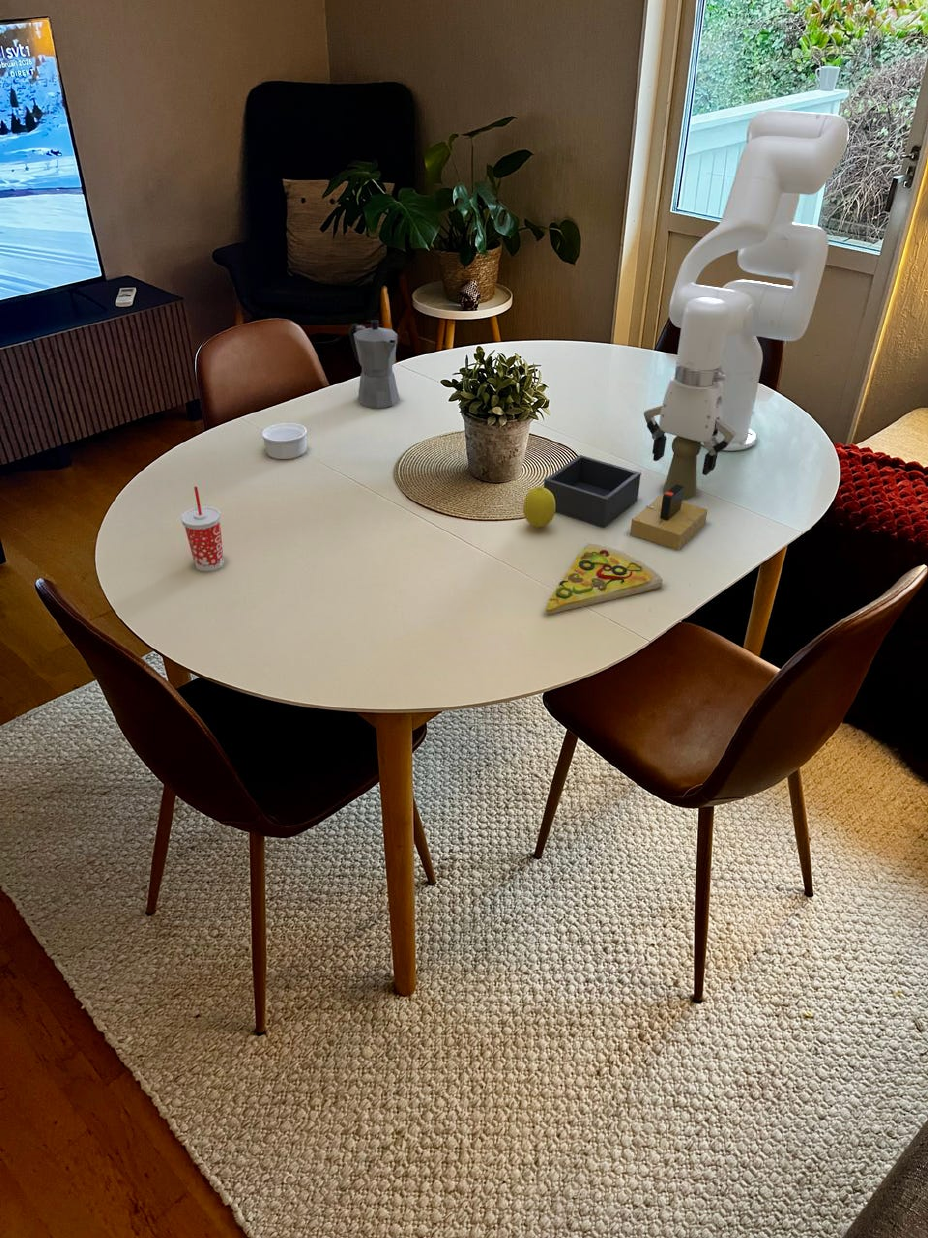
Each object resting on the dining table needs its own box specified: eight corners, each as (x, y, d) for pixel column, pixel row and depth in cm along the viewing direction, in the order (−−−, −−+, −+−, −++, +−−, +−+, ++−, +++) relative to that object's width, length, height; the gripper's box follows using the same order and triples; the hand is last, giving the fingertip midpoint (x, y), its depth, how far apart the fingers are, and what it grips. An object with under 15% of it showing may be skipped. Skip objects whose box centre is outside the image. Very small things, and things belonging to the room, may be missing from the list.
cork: (696, 500, 174) (704, 445, 168) (662, 497, 175) (670, 442, 169) (696, 485, 179) (704, 431, 173) (663, 482, 180) (671, 428, 174)
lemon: (557, 523, 167) (560, 482, 163) (549, 538, 163) (552, 496, 158) (527, 517, 169) (529, 477, 164) (518, 532, 165) (520, 491, 160)
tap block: (658, 509, 172) (660, 493, 170) (705, 524, 167) (708, 508, 165) (629, 534, 164) (631, 518, 162) (678, 550, 160) (680, 534, 158)
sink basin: (578, 481, 180) (580, 454, 177) (637, 500, 174) (641, 472, 171) (542, 507, 172) (544, 479, 169) (603, 528, 166) (606, 499, 163)
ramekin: (255, 456, 189) (252, 436, 186) (278, 439, 195) (276, 419, 193) (294, 464, 186) (292, 443, 183) (317, 446, 193) (315, 426, 190)
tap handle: (672, 506, 166) (676, 482, 163) (680, 509, 165) (684, 484, 163) (659, 518, 163) (663, 493, 160) (667, 520, 162) (671, 496, 159)
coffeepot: (414, 403, 211) (412, 322, 200) (381, 415, 205) (377, 332, 195) (369, 384, 220) (365, 306, 209) (337, 395, 214) (331, 315, 204)
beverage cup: (209, 577, 152) (195, 500, 144) (182, 566, 155) (166, 490, 147) (236, 560, 157) (224, 484, 149) (209, 550, 159) (195, 474, 151)
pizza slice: (668, 584, 151) (670, 568, 150) (584, 637, 140) (586, 620, 138) (593, 547, 161) (594, 532, 159) (508, 594, 149) (508, 578, 147)
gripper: (753, 378, 162) (735, 471, 172) (661, 357, 171) (649, 446, 180) (735, 391, 157) (718, 485, 167) (641, 368, 165) (630, 459, 175)
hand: (682, 465), depth 173 cm, fingers open, 9 cm apart
